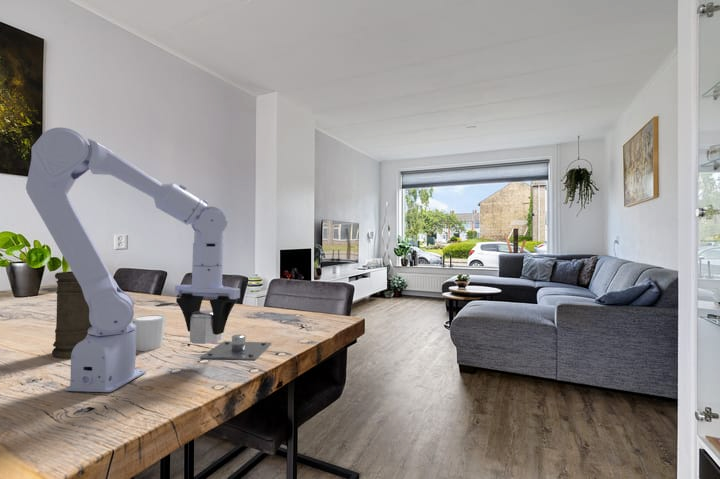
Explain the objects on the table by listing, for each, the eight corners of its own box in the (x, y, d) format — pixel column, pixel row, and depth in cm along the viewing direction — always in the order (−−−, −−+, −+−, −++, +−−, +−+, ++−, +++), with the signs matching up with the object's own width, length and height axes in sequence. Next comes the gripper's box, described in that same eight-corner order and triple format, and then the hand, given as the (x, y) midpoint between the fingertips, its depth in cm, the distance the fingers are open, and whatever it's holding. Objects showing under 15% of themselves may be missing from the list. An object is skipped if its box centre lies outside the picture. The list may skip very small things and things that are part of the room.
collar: (212, 344, 70) (213, 315, 70) (185, 343, 70) (186, 314, 70) (225, 336, 76) (226, 310, 76) (200, 335, 76) (200, 309, 76)
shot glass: (125, 348, 83) (125, 318, 83) (153, 341, 89) (154, 313, 89) (142, 353, 80) (143, 322, 80) (171, 345, 86) (172, 316, 86)
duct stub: (255, 359, 76) (255, 344, 76) (200, 358, 77) (201, 342, 77) (271, 344, 88) (271, 330, 88) (223, 342, 89) (224, 329, 89)
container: (74, 360, 75) (76, 274, 75) (40, 356, 76) (42, 272, 77) (112, 347, 83) (114, 271, 84) (80, 345, 85) (82, 269, 85)
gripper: (249, 265, 75) (247, 330, 74) (193, 263, 79) (191, 324, 79) (228, 267, 68) (225, 339, 68) (167, 264, 72) (165, 331, 72)
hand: (205, 332), depth 73 cm, fingers closed on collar, 6 cm apart
